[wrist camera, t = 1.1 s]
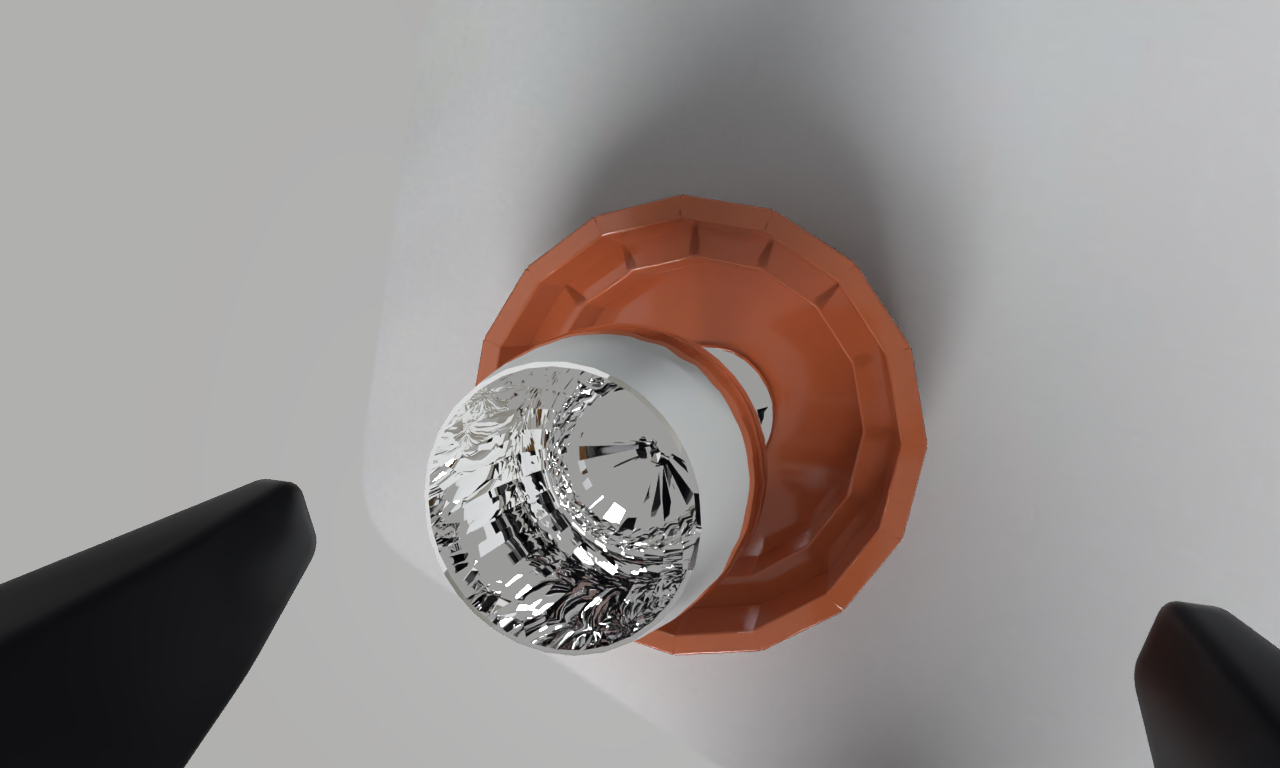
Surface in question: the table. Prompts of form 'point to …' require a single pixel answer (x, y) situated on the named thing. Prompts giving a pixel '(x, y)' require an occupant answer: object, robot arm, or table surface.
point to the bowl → (797, 376)
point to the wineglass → (599, 484)
